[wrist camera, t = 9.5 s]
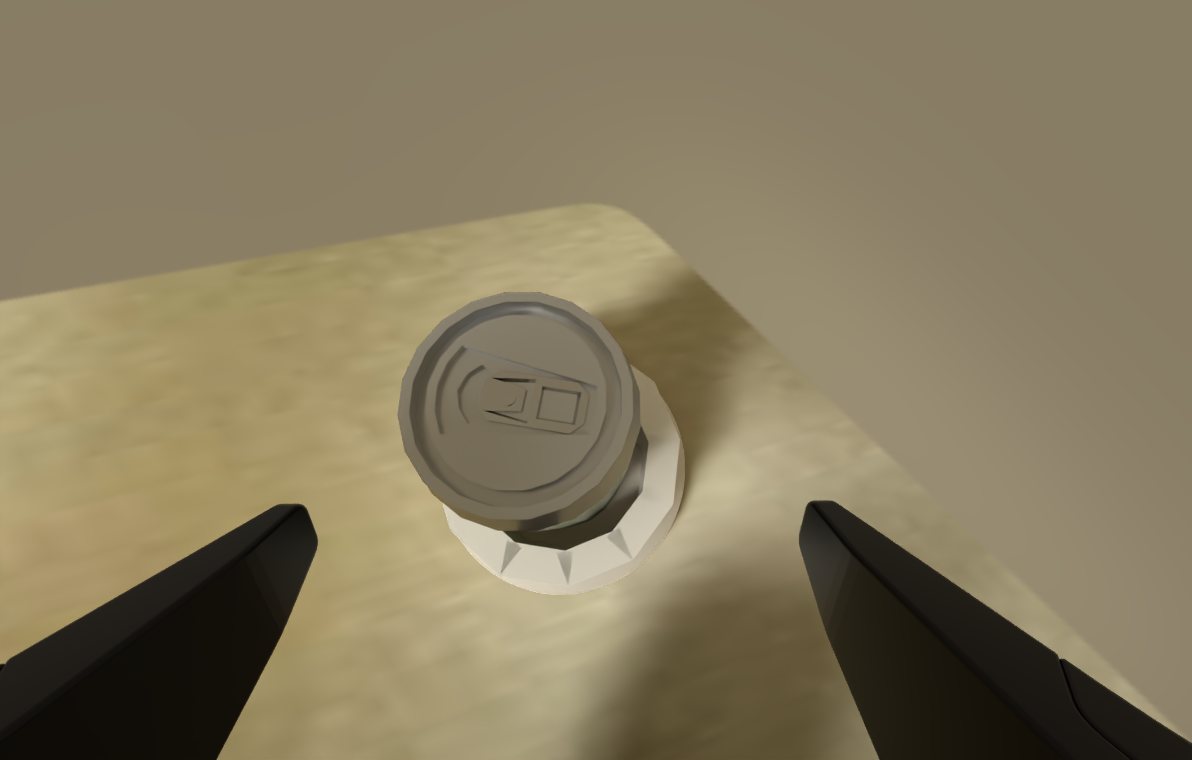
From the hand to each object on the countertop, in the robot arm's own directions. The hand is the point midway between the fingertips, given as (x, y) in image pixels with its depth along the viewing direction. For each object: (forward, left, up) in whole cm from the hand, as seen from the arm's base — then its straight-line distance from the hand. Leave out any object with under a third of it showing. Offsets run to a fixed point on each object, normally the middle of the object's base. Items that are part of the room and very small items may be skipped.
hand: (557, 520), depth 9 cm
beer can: (0, +3, -13) cm, 13 cm away
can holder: (0, +3, -14) cm, 14 cm away
